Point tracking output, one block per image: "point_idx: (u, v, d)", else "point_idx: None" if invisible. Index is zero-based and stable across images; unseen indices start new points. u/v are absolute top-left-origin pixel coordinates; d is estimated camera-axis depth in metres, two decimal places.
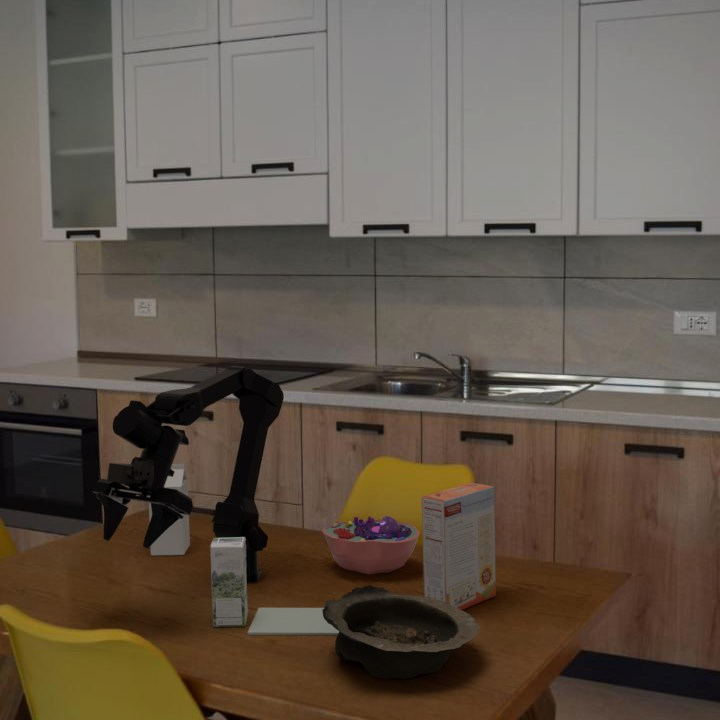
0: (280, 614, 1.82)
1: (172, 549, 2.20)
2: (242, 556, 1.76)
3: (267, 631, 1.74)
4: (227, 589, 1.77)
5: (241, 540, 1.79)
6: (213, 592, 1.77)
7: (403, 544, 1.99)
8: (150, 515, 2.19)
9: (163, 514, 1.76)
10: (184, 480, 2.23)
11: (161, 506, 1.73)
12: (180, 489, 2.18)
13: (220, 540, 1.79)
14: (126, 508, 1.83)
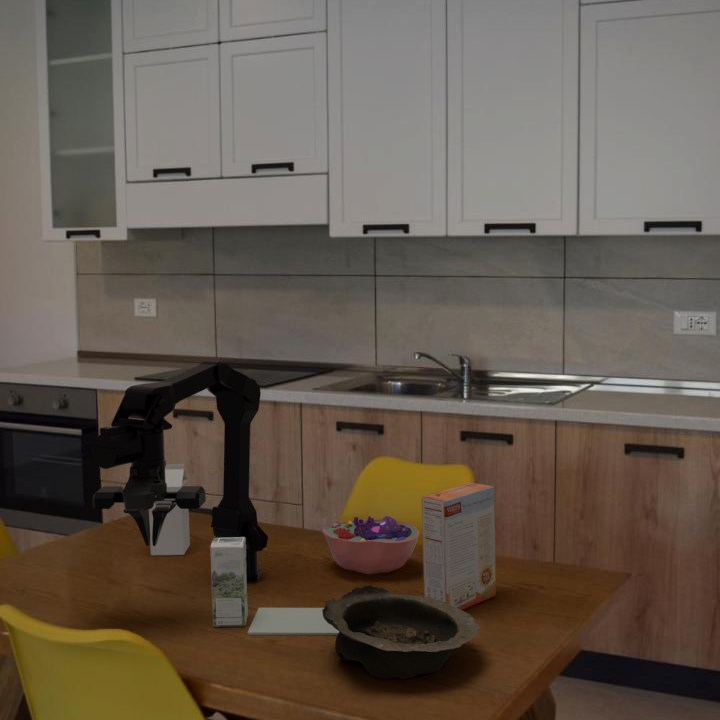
0: (280, 614, 1.82)
1: (172, 549, 2.20)
2: (242, 556, 1.76)
3: (267, 631, 1.74)
4: (227, 589, 1.77)
5: (241, 540, 1.79)
6: (213, 592, 1.77)
7: (403, 544, 1.99)
8: (150, 515, 2.19)
9: None
10: (184, 480, 2.23)
11: (165, 512, 1.78)
12: None
13: (220, 540, 1.79)
14: None
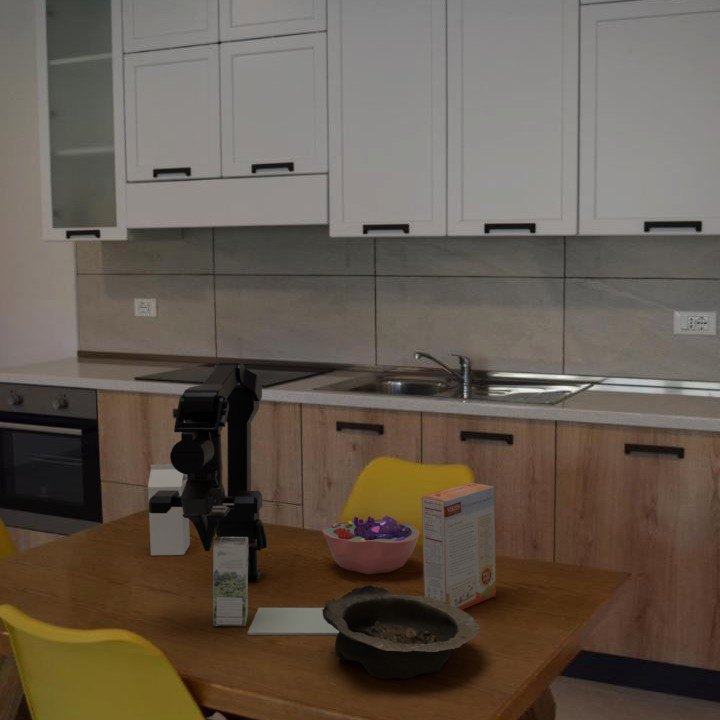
0: (280, 614, 1.82)
1: (172, 549, 2.20)
2: (245, 556, 1.76)
3: (267, 631, 1.74)
4: (228, 589, 1.77)
5: (244, 540, 1.79)
6: (214, 591, 1.77)
7: (403, 544, 1.99)
8: (150, 515, 2.19)
9: None
10: (184, 480, 2.23)
11: (220, 517, 1.75)
12: (180, 489, 2.18)
13: (223, 539, 1.79)
14: None
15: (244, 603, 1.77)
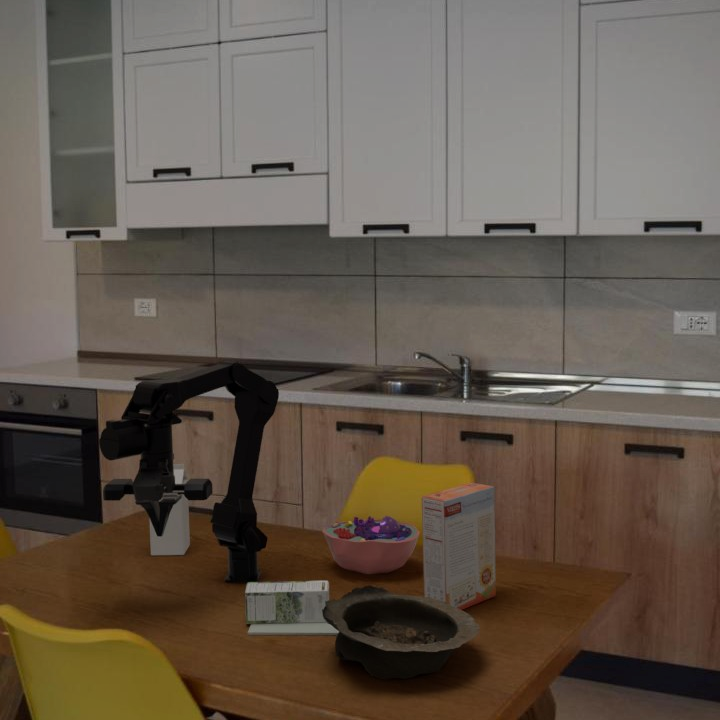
0: None
1: (172, 549, 2.20)
2: (318, 621, 1.78)
3: (267, 631, 1.74)
4: (283, 606, 1.77)
5: None
6: (281, 593, 1.77)
7: (403, 544, 1.99)
8: None
9: None
10: (184, 480, 2.23)
11: (171, 503, 1.84)
12: None
13: None
14: None
15: (269, 622, 1.78)
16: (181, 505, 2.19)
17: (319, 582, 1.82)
